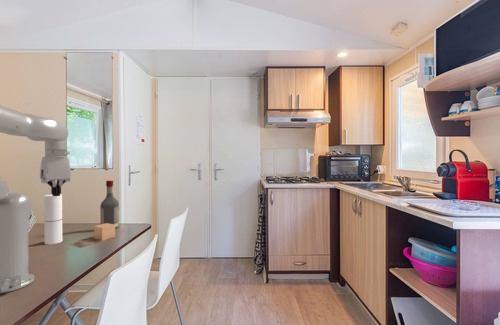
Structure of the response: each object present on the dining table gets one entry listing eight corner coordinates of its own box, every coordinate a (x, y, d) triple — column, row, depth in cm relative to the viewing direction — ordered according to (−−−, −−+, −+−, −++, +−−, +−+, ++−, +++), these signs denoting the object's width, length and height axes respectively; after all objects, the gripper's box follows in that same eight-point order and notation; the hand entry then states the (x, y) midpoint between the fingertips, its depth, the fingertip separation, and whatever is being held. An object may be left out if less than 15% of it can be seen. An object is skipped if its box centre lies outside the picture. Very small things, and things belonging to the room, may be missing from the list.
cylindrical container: (52, 247, 125) (52, 196, 125) (40, 246, 127) (40, 195, 126) (66, 243, 132) (65, 194, 132) (54, 242, 134) (54, 194, 133)
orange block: (107, 234, 141) (107, 223, 141) (115, 236, 138) (115, 224, 138) (94, 238, 135) (94, 226, 135) (102, 240, 132) (102, 227, 132)
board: (108, 236, 143) (108, 233, 143) (119, 239, 139) (119, 236, 139) (68, 247, 126) (68, 244, 126) (80, 250, 121) (80, 247, 121)
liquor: (100, 233, 149) (99, 181, 149) (102, 229, 158) (102, 180, 157) (117, 231, 153) (117, 181, 152) (119, 227, 161) (118, 179, 161)
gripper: (69, 154, 121) (70, 193, 121) (30, 153, 108) (31, 197, 108) (78, 154, 117) (79, 194, 118) (39, 153, 104) (39, 198, 105)
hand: (56, 195), depth 113 cm, fingers closed
